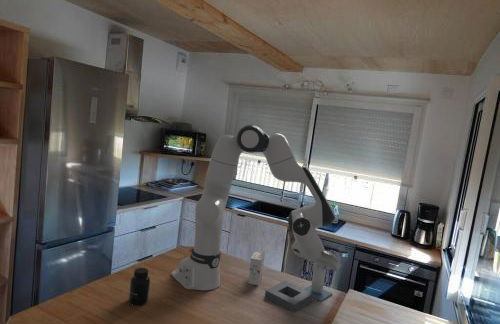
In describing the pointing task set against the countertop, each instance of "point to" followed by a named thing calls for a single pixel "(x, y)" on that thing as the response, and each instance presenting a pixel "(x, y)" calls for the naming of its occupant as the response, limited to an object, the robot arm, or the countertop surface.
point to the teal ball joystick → (318, 278)
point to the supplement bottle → (139, 287)
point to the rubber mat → (319, 294)
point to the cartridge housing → (290, 303)
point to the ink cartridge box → (256, 268)
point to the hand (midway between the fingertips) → (320, 265)
